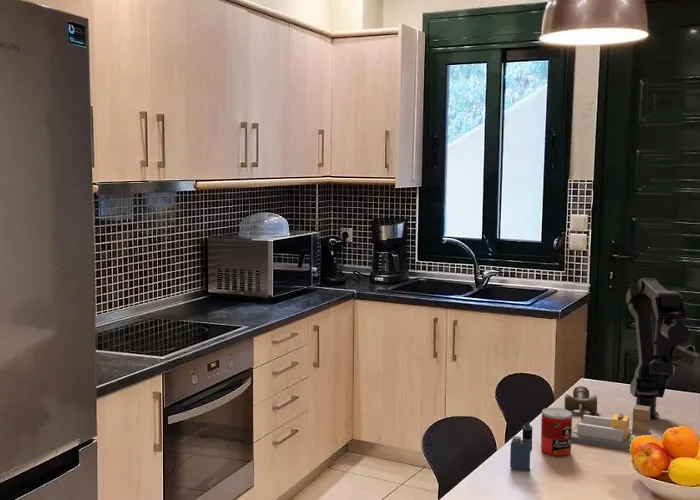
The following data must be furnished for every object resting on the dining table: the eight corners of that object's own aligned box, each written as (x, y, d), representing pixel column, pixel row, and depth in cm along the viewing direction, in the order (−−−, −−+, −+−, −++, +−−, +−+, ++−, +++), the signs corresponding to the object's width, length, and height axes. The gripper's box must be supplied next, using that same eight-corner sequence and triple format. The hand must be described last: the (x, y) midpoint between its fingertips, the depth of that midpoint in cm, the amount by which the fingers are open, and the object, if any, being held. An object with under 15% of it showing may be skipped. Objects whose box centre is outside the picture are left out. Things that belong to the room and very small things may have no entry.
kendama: (596, 403, 257) (597, 420, 238) (565, 401, 260) (563, 418, 241) (597, 385, 256) (597, 401, 237) (565, 383, 259) (563, 399, 240)
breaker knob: (613, 431, 224) (614, 411, 223) (628, 433, 222) (629, 413, 221) (610, 436, 219) (611, 416, 219) (625, 439, 217) (626, 418, 217)
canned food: (554, 459, 207) (556, 418, 205) (534, 449, 214) (535, 409, 212) (577, 454, 210) (578, 414, 209) (556, 445, 217) (557, 405, 216)
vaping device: (531, 472, 198) (533, 425, 197) (509, 470, 199) (511, 423, 198) (531, 468, 201) (532, 421, 199) (510, 466, 202) (511, 420, 200)
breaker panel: (578, 426, 233) (578, 411, 232) (651, 437, 223) (652, 421, 223) (567, 441, 220) (568, 425, 220) (644, 453, 211) (645, 437, 211)
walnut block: (634, 428, 225) (635, 404, 224) (649, 431, 223) (650, 406, 222) (632, 433, 221) (633, 408, 221) (647, 435, 220) (648, 410, 219)
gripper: (694, 346, 213) (691, 403, 215) (699, 333, 229) (696, 386, 231) (650, 342, 218) (647, 398, 220) (658, 329, 234) (655, 381, 236)
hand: (663, 390), depth 227 cm, fingers open, 9 cm apart
